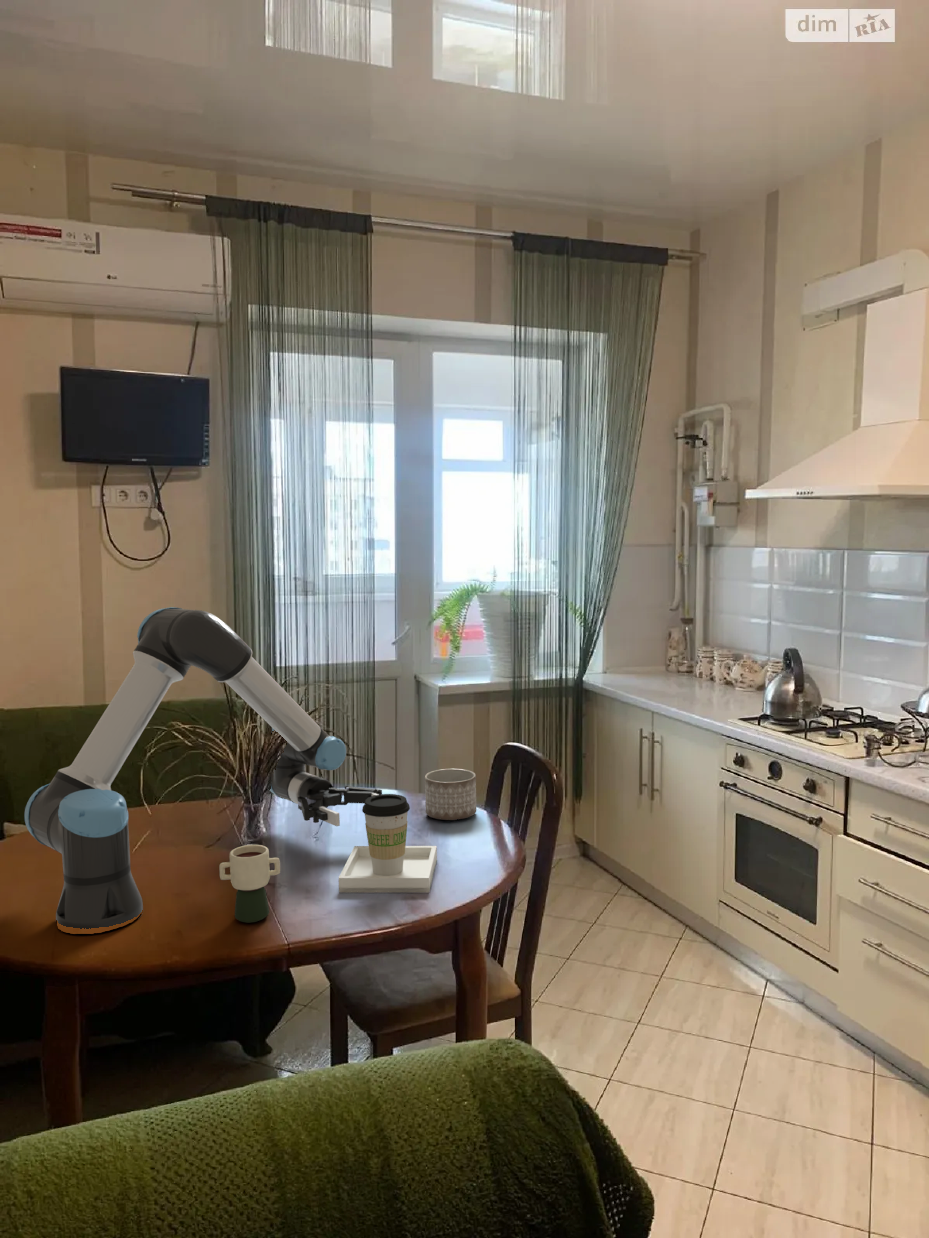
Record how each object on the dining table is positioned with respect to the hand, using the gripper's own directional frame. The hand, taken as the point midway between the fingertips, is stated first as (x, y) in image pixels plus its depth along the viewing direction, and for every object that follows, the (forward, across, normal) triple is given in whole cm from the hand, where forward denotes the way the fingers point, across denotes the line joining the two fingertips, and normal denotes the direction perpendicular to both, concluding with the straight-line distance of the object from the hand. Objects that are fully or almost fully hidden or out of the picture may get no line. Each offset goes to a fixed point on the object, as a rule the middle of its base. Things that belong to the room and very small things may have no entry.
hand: (364, 812), depth 192 cm
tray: (+8, 0, -12) cm, 14 cm away
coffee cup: (+8, 0, -11) cm, 13 cm away
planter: (-12, -35, -12) cm, 39 cm away
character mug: (+7, +31, -12) cm, 34 cm away
